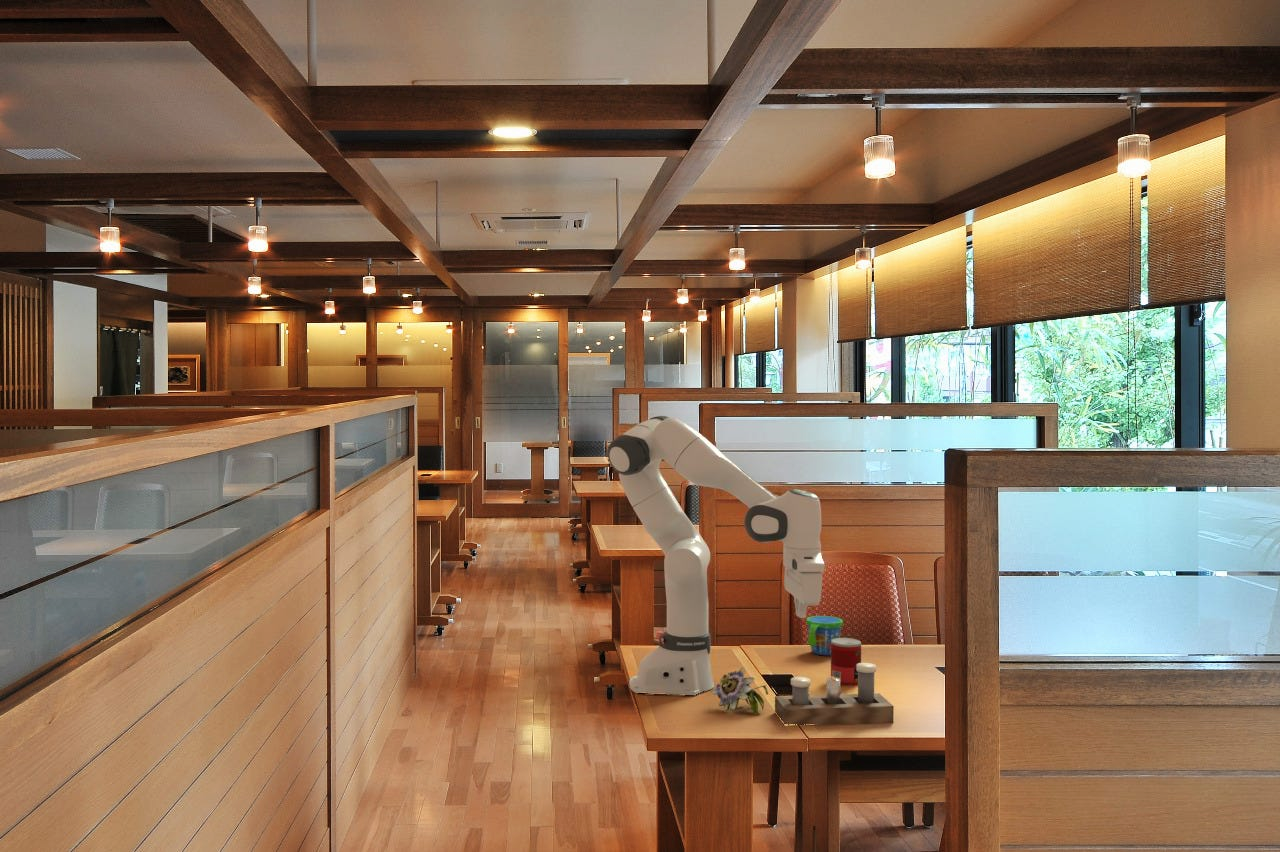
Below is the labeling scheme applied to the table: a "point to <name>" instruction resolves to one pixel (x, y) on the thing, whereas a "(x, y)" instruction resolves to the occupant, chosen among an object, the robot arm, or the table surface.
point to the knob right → (865, 682)
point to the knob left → (800, 690)
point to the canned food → (845, 660)
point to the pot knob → (833, 690)
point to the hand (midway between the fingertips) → (800, 616)
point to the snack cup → (823, 633)
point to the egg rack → (834, 710)
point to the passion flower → (737, 691)
